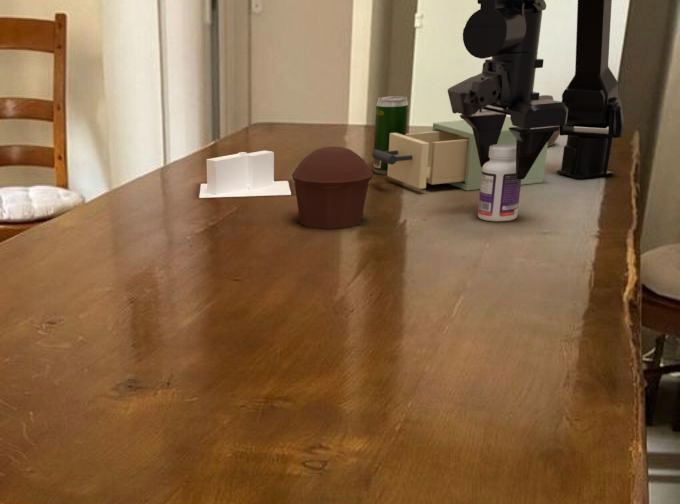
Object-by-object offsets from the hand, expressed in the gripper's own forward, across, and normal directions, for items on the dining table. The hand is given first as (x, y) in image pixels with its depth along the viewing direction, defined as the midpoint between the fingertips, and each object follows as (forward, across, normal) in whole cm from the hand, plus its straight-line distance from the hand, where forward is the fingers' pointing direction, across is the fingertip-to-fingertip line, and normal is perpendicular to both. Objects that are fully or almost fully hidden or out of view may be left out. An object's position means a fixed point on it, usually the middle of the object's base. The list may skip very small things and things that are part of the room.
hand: (501, 173), depth 140 cm
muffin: (+6, -8, -22) cm, 24 cm away
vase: (+6, -47, +37) cm, 60 cm away
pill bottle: (+6, 0, 0) cm, 6 cm away
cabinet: (+6, -24, +12) cm, 27 cm away
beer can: (+6, -37, +1) cm, 37 cm away
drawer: (+5, -24, +1) cm, 24 cm away
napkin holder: (+6, -35, -26) cm, 44 cm away
